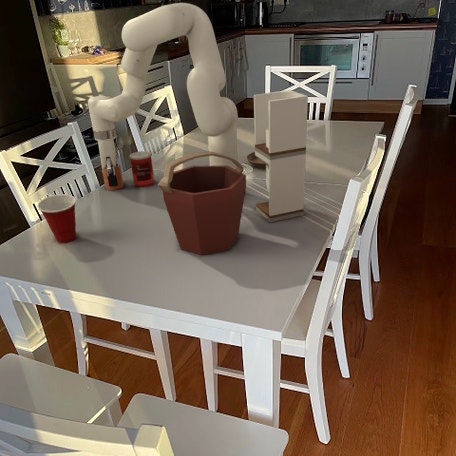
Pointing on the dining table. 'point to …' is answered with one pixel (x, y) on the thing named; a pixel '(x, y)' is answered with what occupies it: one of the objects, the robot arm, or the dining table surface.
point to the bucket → (204, 203)
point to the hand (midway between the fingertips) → (114, 182)
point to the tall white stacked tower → (282, 151)
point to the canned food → (142, 168)
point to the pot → (117, 173)
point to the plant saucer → (256, 161)
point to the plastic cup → (60, 216)
